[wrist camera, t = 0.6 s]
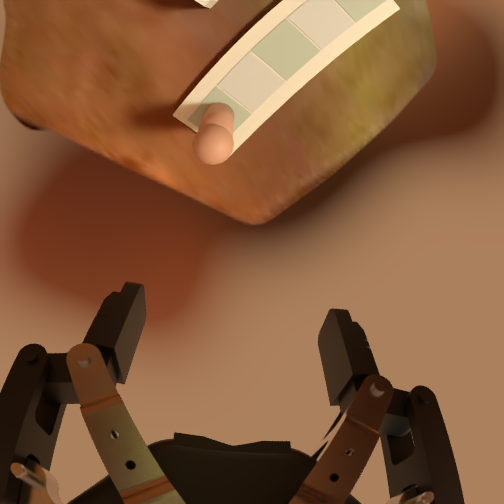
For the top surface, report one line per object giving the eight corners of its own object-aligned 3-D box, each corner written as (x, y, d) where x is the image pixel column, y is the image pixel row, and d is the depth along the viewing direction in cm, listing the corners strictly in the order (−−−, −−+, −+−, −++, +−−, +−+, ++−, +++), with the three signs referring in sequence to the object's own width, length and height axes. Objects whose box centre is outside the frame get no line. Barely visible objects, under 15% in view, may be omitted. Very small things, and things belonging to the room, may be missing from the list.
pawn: (196, 118, 29) (181, 156, 22) (217, 95, 27) (208, 125, 21) (221, 136, 30) (215, 179, 24) (242, 114, 29) (242, 151, 22)
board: (173, 113, 29) (172, 115, 28) (345, -46, 16) (348, -48, 15) (229, 153, 33) (229, 156, 32) (396, 8, 20) (400, 8, 19)
